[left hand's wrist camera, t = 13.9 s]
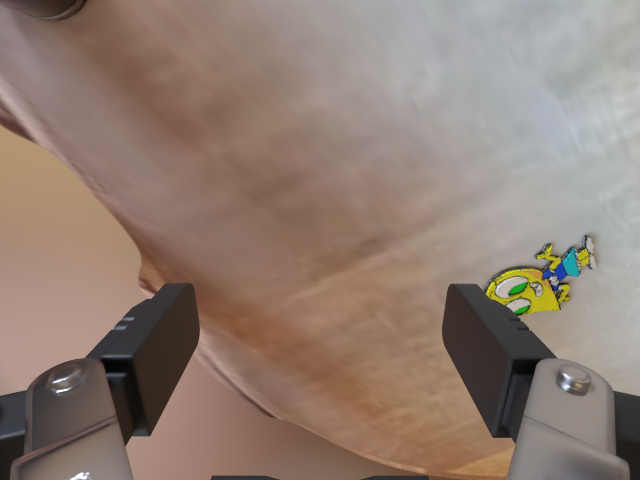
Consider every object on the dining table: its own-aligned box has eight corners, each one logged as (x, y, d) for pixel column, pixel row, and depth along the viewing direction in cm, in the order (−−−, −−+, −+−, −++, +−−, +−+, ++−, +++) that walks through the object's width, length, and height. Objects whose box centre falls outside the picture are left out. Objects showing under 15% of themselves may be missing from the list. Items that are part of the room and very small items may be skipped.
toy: (604, 300, 45) (489, 340, 47) (599, 296, 45) (486, 336, 48) (591, 231, 41) (468, 278, 43) (586, 229, 42) (465, 275, 44)
